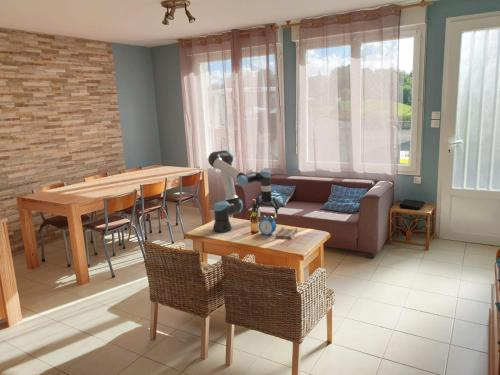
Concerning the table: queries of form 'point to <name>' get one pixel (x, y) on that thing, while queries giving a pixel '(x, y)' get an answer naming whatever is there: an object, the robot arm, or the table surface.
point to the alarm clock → (267, 225)
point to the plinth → (286, 233)
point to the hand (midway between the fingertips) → (267, 217)
